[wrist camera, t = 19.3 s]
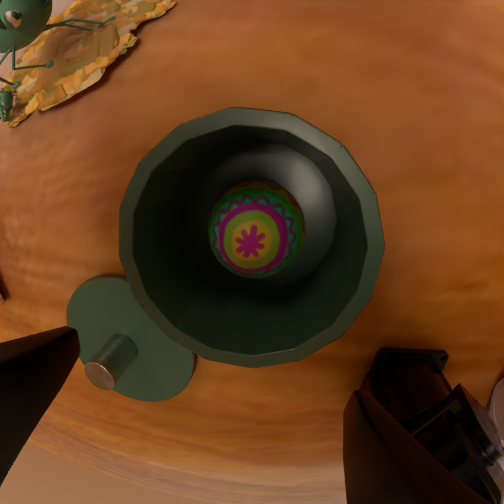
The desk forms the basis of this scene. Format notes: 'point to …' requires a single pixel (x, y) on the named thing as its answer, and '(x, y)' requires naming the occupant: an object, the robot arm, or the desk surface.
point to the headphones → (498, 412)
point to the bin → (219, 277)
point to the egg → (256, 228)
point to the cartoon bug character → (64, 48)
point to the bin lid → (126, 343)
